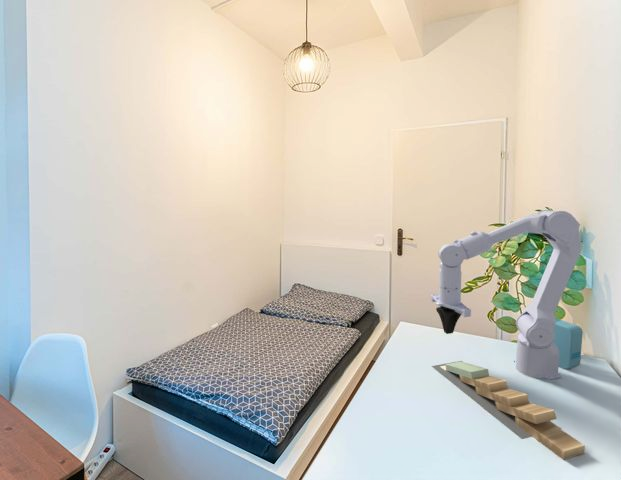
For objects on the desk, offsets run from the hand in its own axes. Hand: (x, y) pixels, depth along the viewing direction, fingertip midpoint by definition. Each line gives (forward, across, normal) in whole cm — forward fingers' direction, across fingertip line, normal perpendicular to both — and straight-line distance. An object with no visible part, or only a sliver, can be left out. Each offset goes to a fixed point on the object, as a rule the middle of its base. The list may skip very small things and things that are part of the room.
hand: (448, 332), depth 92 cm
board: (+9, +16, -1) cm, 18 cm away
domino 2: (+8, +15, -1) cm, 17 cm away
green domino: (+8, +4, -1) cm, 9 cm away
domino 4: (+8, +26, -2) cm, 27 cm away
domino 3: (+8, +21, -2) cm, 23 cm away
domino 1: (+8, +10, -1) cm, 12 cm away
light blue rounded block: (+10, +7, +30) cm, 32 cm away
